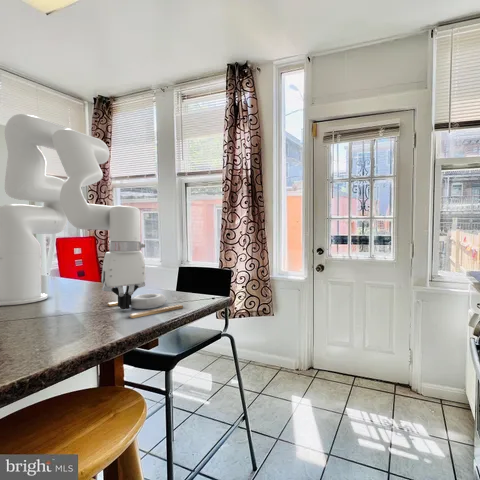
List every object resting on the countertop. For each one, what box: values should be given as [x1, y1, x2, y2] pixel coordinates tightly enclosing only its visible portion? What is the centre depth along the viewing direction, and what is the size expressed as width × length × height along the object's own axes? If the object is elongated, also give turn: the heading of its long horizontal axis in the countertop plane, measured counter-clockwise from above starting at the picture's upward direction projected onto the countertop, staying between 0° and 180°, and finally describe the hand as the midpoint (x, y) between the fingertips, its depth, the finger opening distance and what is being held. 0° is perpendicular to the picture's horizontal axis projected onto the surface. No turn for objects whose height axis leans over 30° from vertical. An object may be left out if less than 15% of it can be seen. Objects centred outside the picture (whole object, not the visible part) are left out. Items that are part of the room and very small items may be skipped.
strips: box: [107, 301, 184, 319], centre depth 86 cm, size 20×14×1 cm
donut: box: [130, 292, 167, 310], centre depth 87 cm, size 10×4×10 cm
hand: (124, 308), depth 81 cm, fingers closed
